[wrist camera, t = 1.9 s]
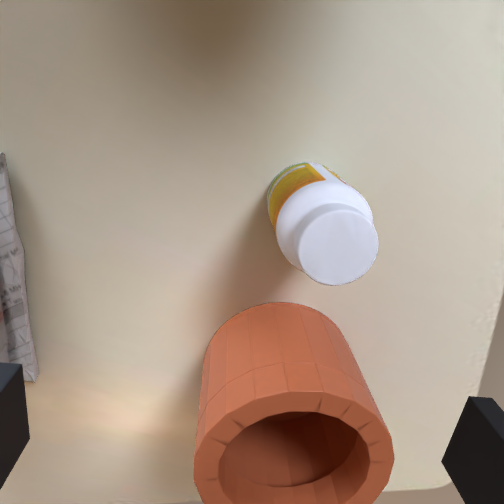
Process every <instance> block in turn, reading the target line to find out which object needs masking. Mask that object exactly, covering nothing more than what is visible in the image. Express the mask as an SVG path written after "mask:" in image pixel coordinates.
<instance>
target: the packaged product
mask: <svg viewBox="0 0 504 504" xmlns="http://www.w3.org/2000/svg"><path fill="white" fill-rule="evenodd" d="M0 362H3V363H17V364H22V366H23V376H24V381H30V382H34V383H35V382H36V379H37V377H38V375H39V370H38V364H37V359H36V354H35V348H34V343H33V338H32V332H31V326H30V319H29V310H28V302H27V293H26V284H25V263H24V249H23V246H22V243H21V240H20V237H19V235H18V232H17V229H16V225H15V217H14V210H13V202H12V196H11V190H10V184H9V178H8V172H7V166H6V160H5V154H4V153H0Z"/></svg>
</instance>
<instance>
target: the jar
mask: <svg viewBox="0 0 504 504" xmlns="http://www.w3.org/2000/svg"><path fill="white" fill-rule="evenodd" d="M393 463H394V452H393V446H392V439H391V436H390V433H389V431H388V429H387V427H386V425H385V423H384V421H383V418H382V416H381V414H380V412H379V410H378V408H377V406H376V403H375V401H374V399H373V397H372V395H371V392H370V390H369V388H368V386H367V384H366V382H365V380H364V377H363V375H362V373H361V371H360V369H359V367H358V364H357V362H356V360H355V358H354V356H353V354H352V352H351V349H350V347H349V345H348V343H347V342H346V340H345V339H344V336H343V335H342V333H341V331H340V330H339V328H338V327H337V326H336V325H335V324H334V323H333V322H332V321H331V320H330V319H329V318H328V317H326V316H325V315H323V314H322V313H320V312H318V311H316V310H314V309H312V308H310V307H306V306H303V305H299V304H294V303H284V302H279V303H268V304H262V305H258V306H254V307H251V308H249V309H246V310H244V311H242V312H240V313H238V314H237V315H235V316H233V317H232V318H231V319H229V320H228V321H227V322H225V323H224V324H223V325H222V326H221V327H220V328H219V330H218V331H217V332H216V333H215V334H214V336H213V338H212V339H211V341H210V343H209V345H208V348H207V350H206V354H205V358H204V364H203V374H202V384H201V394H200V404H199V414H198V424H197V434H196V444H195V454H194V483H195V485H196V487H197V489H198V492H199V494H200V496H201V499H202V501H203V503H204V504H372V503H373V502H374V501H375V500H376V498H377V497H378V496H379V494H380V493H381V492H382V490H383V489H384V487H385V486H386V485H387V483H388V481H389V478H390V474H391V470H392V467H393Z"/></svg>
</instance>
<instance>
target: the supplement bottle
mask: <svg viewBox="0 0 504 504" xmlns="http://www.w3.org/2000/svg"><path fill="white" fill-rule="evenodd" d="M267 209H268V213H269V217H270V219H271V223H272V226H273V229H274V232H275V235H276V238H277V241H278V244H279V247H280V249H281V251H282V253H283V254H284V256H285V257H286V259H287V260H288V261H289V262H290V263H291V264H292V265H293V266H295V267H296V268H298V269H299V270H301V271H303V272H305V273H306V274H307V275H308V276H309V277H310V278H311V279H313V280H314V281H316V282H318V283H321V284H324V285H330V286H338V285H344V284H348V283H351V282H353V281H355V280H357V279H358V278H360V277H361V276H363V275H364V274H365V273H366V272H367V271H368V270H369V268H370V267H371V266H372V264H373V263H374V261H375V258H376V256H377V252H378V236H377V233H376V230H375V228H374V222H373V216H372V212H371V209H370V207H369V205H368V203H367V202H366V200H365V199H364V198H363V196H362V195H361V194H360V193H359V192H358V191H357V190H355V189H354V188H353V187H352V186H350V185H349V184H348V183H346V182H345V181H344V180H343V179H341V178H340V177H339V176H338V175H336V174H335V173H334V172H333V171H331V170H330V169H328V168H327V167H325V166H323V165H320V164H317V163H313V162H302V163H297V164H294V165H291V166H289V167H287V168H285V169H284V170H283V171H281V172H280V173H279V174H278V175H277V176H276V177H275V179H274V180H273V182H272V184H271V186H270V188H269V191H268V195H267Z"/></svg>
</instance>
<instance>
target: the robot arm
mask: <svg viewBox="0 0 504 504" xmlns="http://www.w3.org/2000/svg"><path fill="white" fill-rule="evenodd" d="M29 439H30V435H29V425H28V415H27V405H26V395H25V385H24V376H23V366H22V364H17V363H3V362H0V489H1V488H2V486H3V484H4V483H5V481H6V479H7V477H8V476H9V474H10V472H11V470H12V469H13V467H14V465H15V463H16V462H17V460H18V458H19V457H20V455H21V453H22V451H23V450H24V448H25V446H26V444H27V443H28V441H29ZM441 462H442V464H443V465H444V467H445V469H446V471H447V472H448V474H449V476H450V478H451V479H452V481H453V483H454V485H455V486H456V488H457V490H458V492H459V493H460V495H461V497H462V498H463V501H464V502H465V504H504V411H503V410H502V409H501V408H500V407H499V406H498V405H497V403H496V402H495V401H494V400H493V399H492V398H485V397H484V398H483V397H471V396H469V397H468V400H467V402H466V404H465V407H464V409H463V411H462V414H461V416H460V418H459V421H458V423H457V426H456V428H455V430H454V433H453V435H452V437H451V440H450V442H449V444H448V447H447V449H446V452H445V454H444V456H443V459H442V461H441Z"/></svg>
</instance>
